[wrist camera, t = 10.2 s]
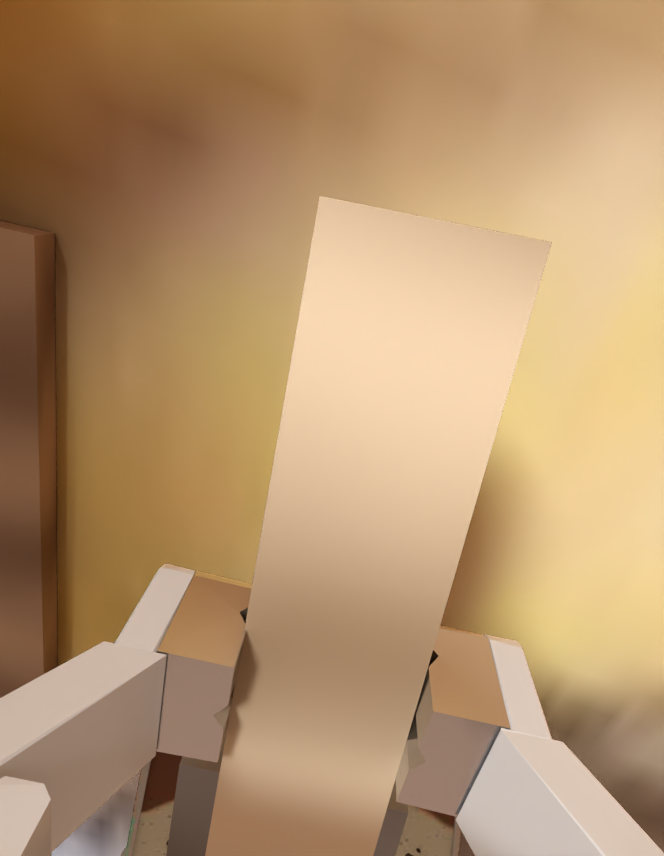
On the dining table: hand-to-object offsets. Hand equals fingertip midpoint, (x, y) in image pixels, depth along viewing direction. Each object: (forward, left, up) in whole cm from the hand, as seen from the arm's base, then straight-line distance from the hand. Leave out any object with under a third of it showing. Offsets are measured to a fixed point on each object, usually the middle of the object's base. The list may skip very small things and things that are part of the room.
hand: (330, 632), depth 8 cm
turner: (+2, 0, -1) cm, 3 cm away
